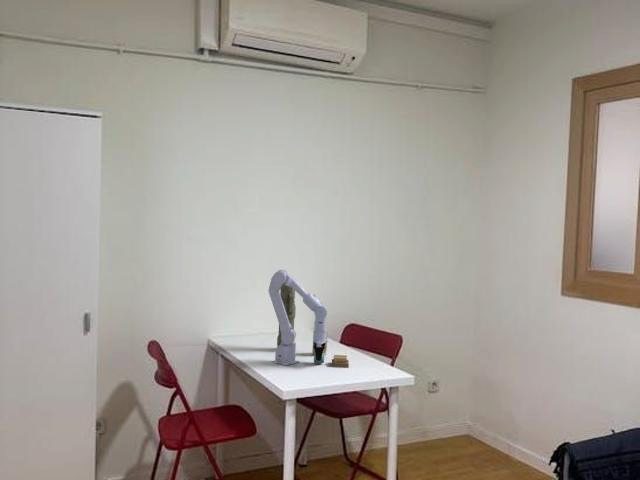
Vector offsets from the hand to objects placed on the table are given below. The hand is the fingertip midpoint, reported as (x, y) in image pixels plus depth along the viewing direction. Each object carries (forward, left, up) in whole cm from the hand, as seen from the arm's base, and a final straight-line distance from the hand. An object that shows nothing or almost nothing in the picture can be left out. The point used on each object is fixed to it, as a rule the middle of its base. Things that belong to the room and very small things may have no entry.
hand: (318, 359), depth 270 cm
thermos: (+9, +30, -3) cm, 31 cm away
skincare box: (+15, +12, -3) cm, 19 cm away
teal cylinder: (0, 0, -2) cm, 2 cm away
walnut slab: (+6, -8, -3) cm, 11 cm away
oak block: (+7, -8, -1) cm, 10 cm away
